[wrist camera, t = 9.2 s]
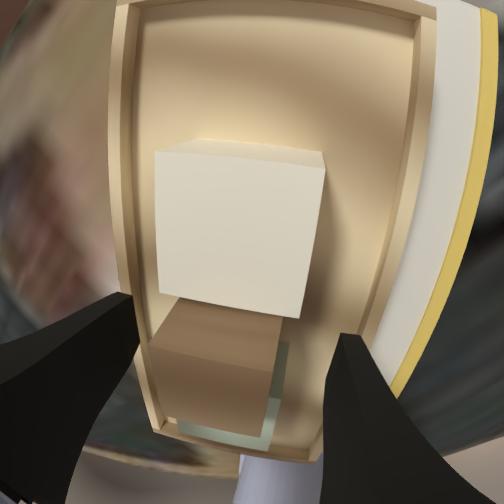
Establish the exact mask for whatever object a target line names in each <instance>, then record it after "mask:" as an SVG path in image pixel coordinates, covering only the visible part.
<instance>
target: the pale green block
mask: <svg viewBox="0 0 504 504" xmlns="http://www.w3.org/2000/svg"><path fill="white" fill-rule="evenodd" d="M289 344H290V343H284V342H279V345H278V350H277V356H276V361H275V367H274V372H273V377H272V382H271V388H270V393H269V398H268V403H267V408H266V413H265V418H264V422H263V427H262V432H261V437H260V438H258V437H253V436H247V435H242V434H237V433H232V432H227V431H223V430H218V429H214V428H209V427H205V426H201V425H197V424H193V423H189V422H186V421H182V420H178V419H176V420H177V426H178V431H179V432H181V433H185V434H188V435H192V436H196V437H200V438H204V439H208V440H212V441H216V442H221V443H225V444H230V445H235V446H240V447H245V448H250V449H256V450H261V451H267V452H268V449H269V445H270V441H271V438H272V434H273V430H274V426H275V422H276V418H277V414H278V411H279V407H280V403H281V398H282V392H283V385H284V379H285V372H286V365H287V358H288V351H289Z"/></svg>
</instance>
